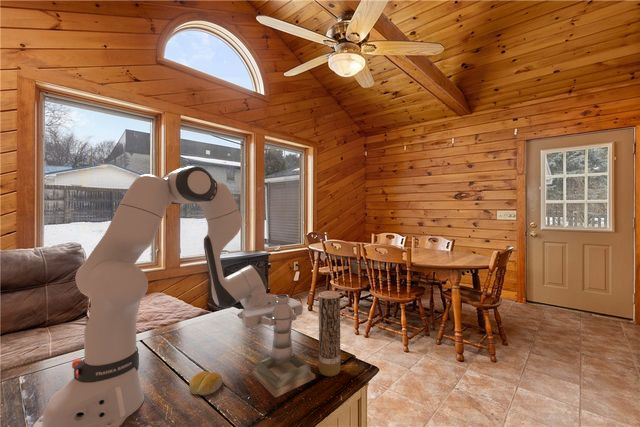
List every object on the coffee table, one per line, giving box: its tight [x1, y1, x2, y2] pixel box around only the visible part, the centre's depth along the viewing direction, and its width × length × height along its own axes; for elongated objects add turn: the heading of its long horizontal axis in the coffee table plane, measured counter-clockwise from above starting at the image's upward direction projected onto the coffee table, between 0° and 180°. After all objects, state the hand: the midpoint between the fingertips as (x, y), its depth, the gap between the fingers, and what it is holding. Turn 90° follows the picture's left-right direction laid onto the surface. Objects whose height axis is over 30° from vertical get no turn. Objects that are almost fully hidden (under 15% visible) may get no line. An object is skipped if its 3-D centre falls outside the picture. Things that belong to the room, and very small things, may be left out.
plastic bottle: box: [271, 294, 294, 363], centre depth 90 cm, size 6×7×20 cm
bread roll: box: [188, 370, 223, 396], centre depth 85 cm, size 8×9×4 cm
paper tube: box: [318, 290, 341, 377], centre depth 92 cm, size 7×7×25 cm
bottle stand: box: [251, 352, 316, 398], centre depth 90 cm, size 14×14×4 cm
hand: (283, 320), depth 89 cm, fingers closed on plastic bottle, 6 cm apart
